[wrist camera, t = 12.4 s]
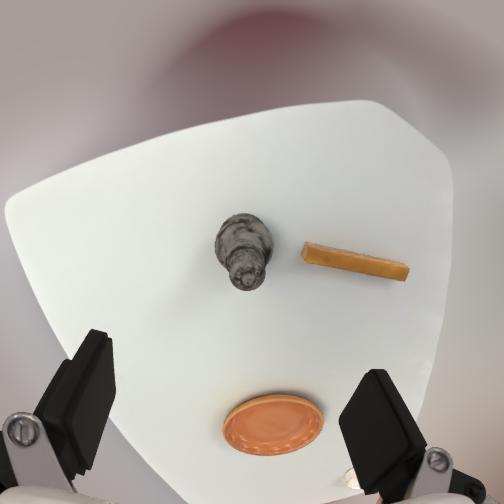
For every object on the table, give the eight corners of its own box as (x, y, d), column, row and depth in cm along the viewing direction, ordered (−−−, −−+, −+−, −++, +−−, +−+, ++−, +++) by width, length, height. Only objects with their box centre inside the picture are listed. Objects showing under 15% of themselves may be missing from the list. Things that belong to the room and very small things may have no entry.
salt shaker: (212, 214, 33) (201, 252, 21) (266, 207, 33) (284, 240, 21) (221, 265, 35) (216, 322, 23) (272, 257, 35) (290, 312, 23)
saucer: (207, 431, 45) (207, 445, 42) (251, 374, 40) (252, 388, 38) (287, 449, 48) (289, 461, 45) (338, 398, 44) (343, 411, 41)
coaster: (378, 454, 52) (382, 465, 49) (386, 465, 56) (390, 476, 52) (338, 472, 54) (342, 483, 50) (351, 482, 57) (354, 492, 54)
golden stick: (305, 241, 34) (309, 246, 33) (403, 263, 36) (410, 268, 34) (301, 256, 35) (304, 262, 33) (398, 276, 37) (405, 281, 35)
